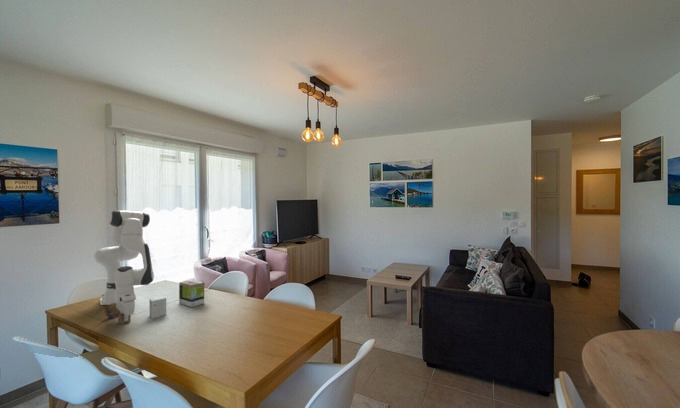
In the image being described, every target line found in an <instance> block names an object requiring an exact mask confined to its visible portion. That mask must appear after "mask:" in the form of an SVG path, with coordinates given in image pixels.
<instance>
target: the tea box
mask: <svg viewBox="0 0 680 408" xmlns="http://www.w3.org/2000/svg"><path fill="white" fill-rule="evenodd" d="M178 286H179V288H178V292H179V293H178V294H179V295H178V296H179V297H178V302H179V304H181V305H184V306H188V307H190V308H193V307H197V306H200V305H203V304H205V282H204V281H201V280H196V279H190V280H183V281H180V282H179V285H178Z"/></svg>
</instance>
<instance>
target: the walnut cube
mask: <svg viewBox="0 0 680 408" xmlns="http://www.w3.org/2000/svg"><path fill="white" fill-rule="evenodd" d="M130 322H131V315H129V317H128V320H127V321H124V314H123V313H122V314H119V316H118V323H119V324H120V325H123V324H127V323H130Z"/></svg>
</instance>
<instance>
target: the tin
mask: <svg viewBox="0 0 680 408" xmlns="http://www.w3.org/2000/svg"><path fill="white" fill-rule="evenodd" d="M119 314H120V311H119V310H118V309H117V308H116V302H115V303H112V304H109V305H107V306H106V308H105V310H104V315H105V317H106V318H112V319H113V318H114V319H115V318H117V317H119Z"/></svg>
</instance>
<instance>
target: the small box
mask: <svg viewBox="0 0 680 408" xmlns="http://www.w3.org/2000/svg"><path fill="white" fill-rule="evenodd" d="M166 315H167V297H166V296H165V295H161V296H157V297H152V298H150V299H149V317H150V318H151V319H155V318H158V317H159V318H160V317H161V316H166Z"/></svg>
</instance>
